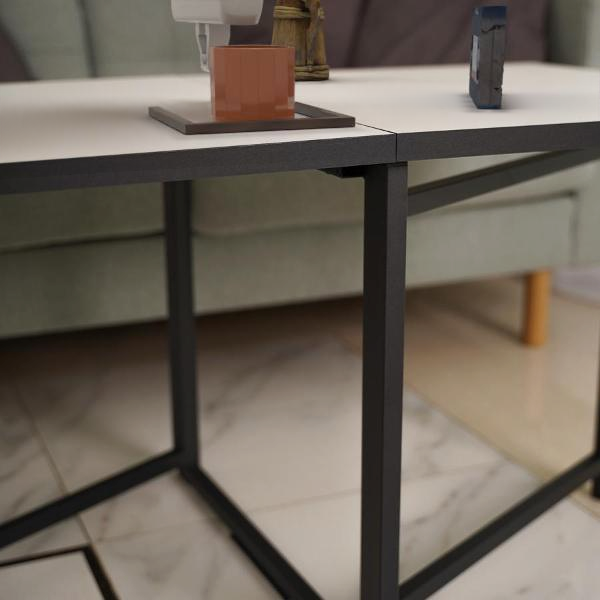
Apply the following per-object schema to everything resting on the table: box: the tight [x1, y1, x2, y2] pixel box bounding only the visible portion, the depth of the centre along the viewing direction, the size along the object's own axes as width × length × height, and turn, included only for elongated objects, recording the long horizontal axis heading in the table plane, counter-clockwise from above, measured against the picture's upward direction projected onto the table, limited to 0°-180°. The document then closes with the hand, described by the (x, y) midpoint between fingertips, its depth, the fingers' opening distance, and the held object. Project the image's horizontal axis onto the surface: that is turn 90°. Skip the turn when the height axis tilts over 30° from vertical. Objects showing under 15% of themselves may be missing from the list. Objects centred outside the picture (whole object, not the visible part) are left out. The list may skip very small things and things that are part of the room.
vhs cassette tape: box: [468, 5, 508, 110], centre depth 99 cm, size 18×3×10 cm, turn 171°
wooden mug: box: [270, 0, 330, 82], centre depth 125 cm, size 9×14×18 cm, turn 22°
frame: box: [147, 101, 356, 135], centre depth 82 cm, size 15×14×1 cm
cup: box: [209, 44, 296, 122], centre depth 80 cm, size 7×7×6 cm
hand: (213, 72), depth 90 cm, fingers closed
